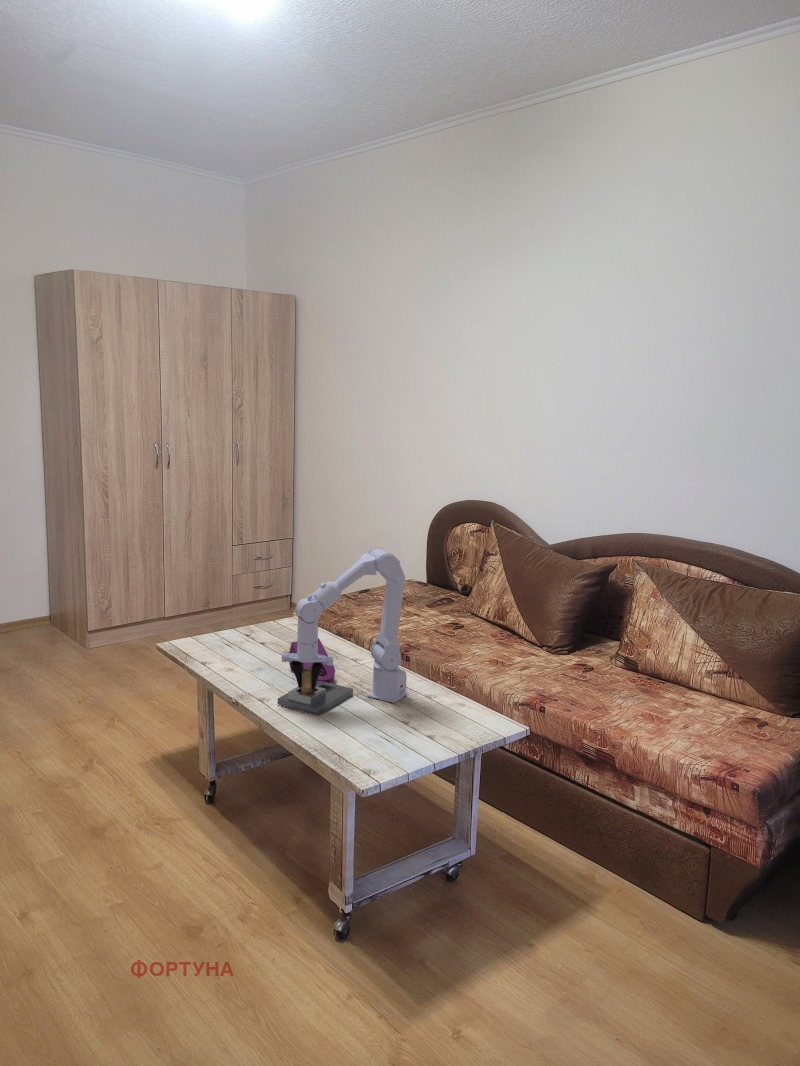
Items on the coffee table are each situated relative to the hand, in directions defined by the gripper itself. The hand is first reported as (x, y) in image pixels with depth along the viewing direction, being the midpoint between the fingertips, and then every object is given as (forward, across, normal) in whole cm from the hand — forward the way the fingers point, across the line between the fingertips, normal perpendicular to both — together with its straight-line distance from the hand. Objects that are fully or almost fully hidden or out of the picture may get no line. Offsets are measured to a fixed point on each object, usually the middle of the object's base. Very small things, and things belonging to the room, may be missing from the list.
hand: (307, 687), depth 228 cm
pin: (+4, 0, 0) cm, 4 cm away
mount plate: (+5, -2, -4) cm, 7 cm away
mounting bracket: (+6, +4, -23) cm, 24 cm away
